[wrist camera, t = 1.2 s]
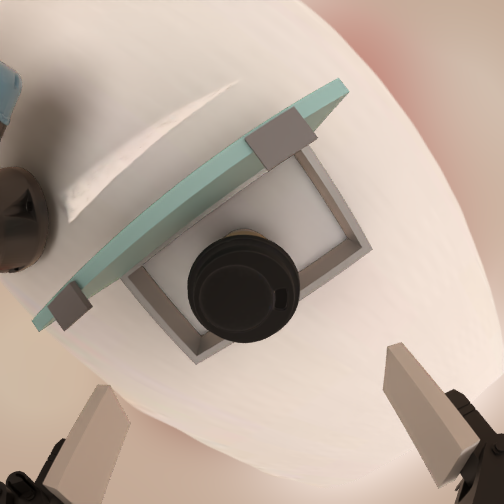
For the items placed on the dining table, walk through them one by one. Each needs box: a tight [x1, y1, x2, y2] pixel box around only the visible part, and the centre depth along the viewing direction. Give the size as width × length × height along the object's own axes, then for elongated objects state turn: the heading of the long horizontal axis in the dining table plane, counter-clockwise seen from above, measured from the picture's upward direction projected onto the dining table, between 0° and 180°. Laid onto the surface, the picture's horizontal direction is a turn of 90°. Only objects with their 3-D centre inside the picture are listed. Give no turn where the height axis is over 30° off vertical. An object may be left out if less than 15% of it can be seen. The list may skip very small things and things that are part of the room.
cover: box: [32, 78, 349, 332], centre depth 22 cm, size 16×26×2 cm
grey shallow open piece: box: [120, 145, 373, 364], centre depth 35 cm, size 15×26×5 cm, turn 125°
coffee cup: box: [187, 229, 300, 343], centre depth 30 cm, size 9×9×15 cm
